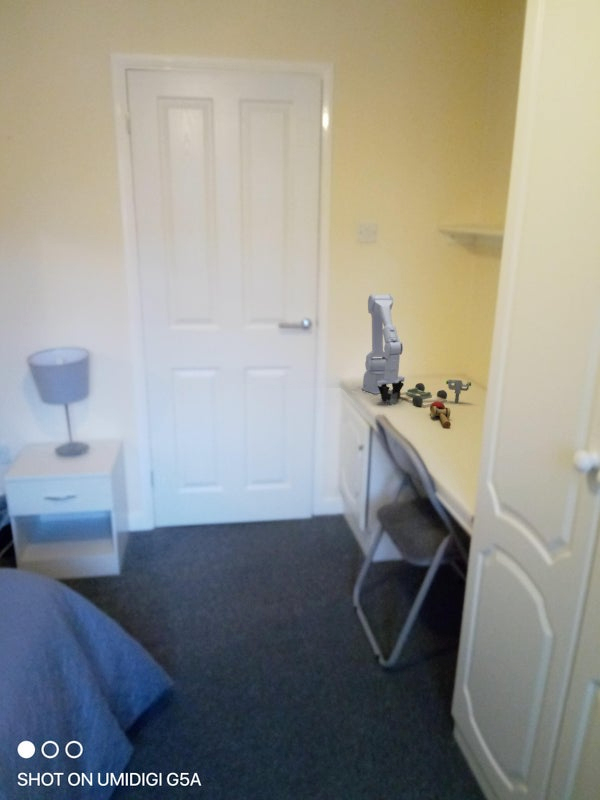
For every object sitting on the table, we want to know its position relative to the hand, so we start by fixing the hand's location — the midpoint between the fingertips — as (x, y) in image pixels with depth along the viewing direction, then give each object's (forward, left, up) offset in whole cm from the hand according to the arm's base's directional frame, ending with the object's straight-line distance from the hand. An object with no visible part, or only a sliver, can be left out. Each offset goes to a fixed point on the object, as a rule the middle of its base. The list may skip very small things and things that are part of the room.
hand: (389, 399), depth 256 cm
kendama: (+27, +2, -2) cm, 28 cm away
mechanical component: (+16, +25, -2) cm, 30 cm away
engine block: (0, 0, -2) cm, 2 cm away
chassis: (+3, +15, -1) cm, 15 cm away
